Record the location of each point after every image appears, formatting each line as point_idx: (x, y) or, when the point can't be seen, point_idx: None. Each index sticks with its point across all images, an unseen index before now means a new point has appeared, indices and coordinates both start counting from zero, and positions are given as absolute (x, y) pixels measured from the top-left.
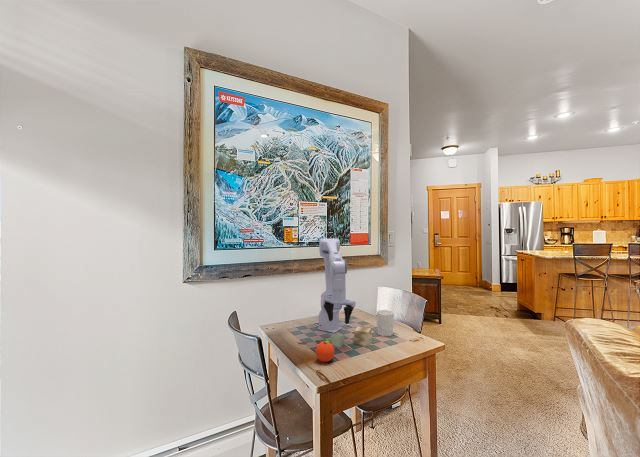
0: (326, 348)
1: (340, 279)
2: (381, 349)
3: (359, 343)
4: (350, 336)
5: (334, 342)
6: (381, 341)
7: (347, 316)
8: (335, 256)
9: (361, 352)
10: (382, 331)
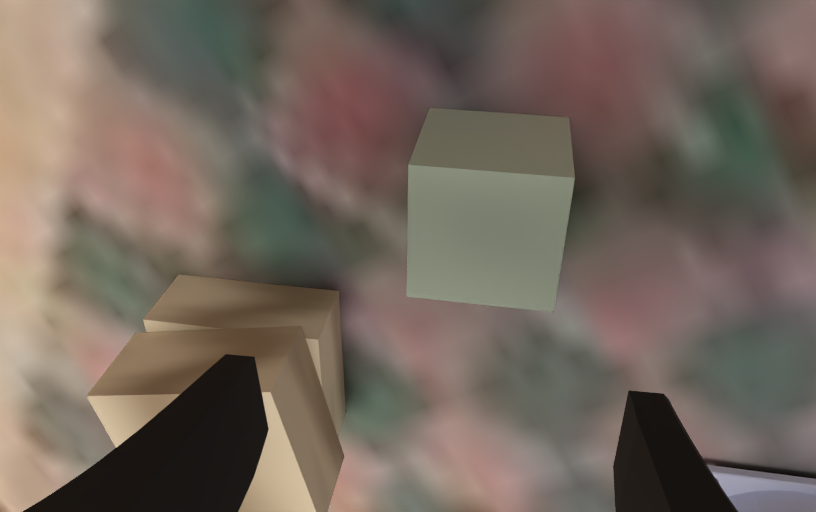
0: None
1: None
2: (26, 267)
3: (258, 291)
4: (467, 438)
5: (499, 133)
6: None
7: (91, 467)
8: None
9: (119, 101)
10: None
